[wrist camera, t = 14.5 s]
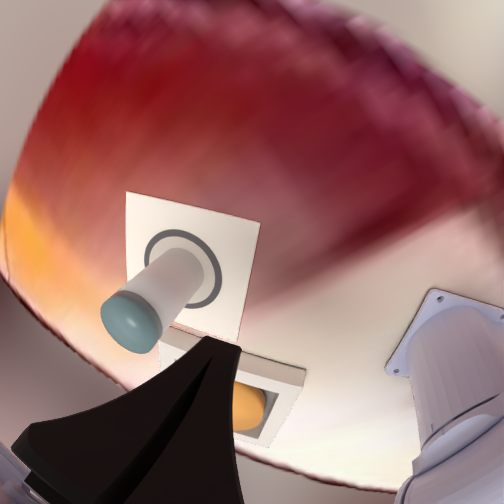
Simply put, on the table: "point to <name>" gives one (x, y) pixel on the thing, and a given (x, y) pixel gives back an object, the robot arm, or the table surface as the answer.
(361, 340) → the table surface
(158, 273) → the white cylindrical piece
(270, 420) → the button box
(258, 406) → the button
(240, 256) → the paper sheet
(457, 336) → the robot arm
